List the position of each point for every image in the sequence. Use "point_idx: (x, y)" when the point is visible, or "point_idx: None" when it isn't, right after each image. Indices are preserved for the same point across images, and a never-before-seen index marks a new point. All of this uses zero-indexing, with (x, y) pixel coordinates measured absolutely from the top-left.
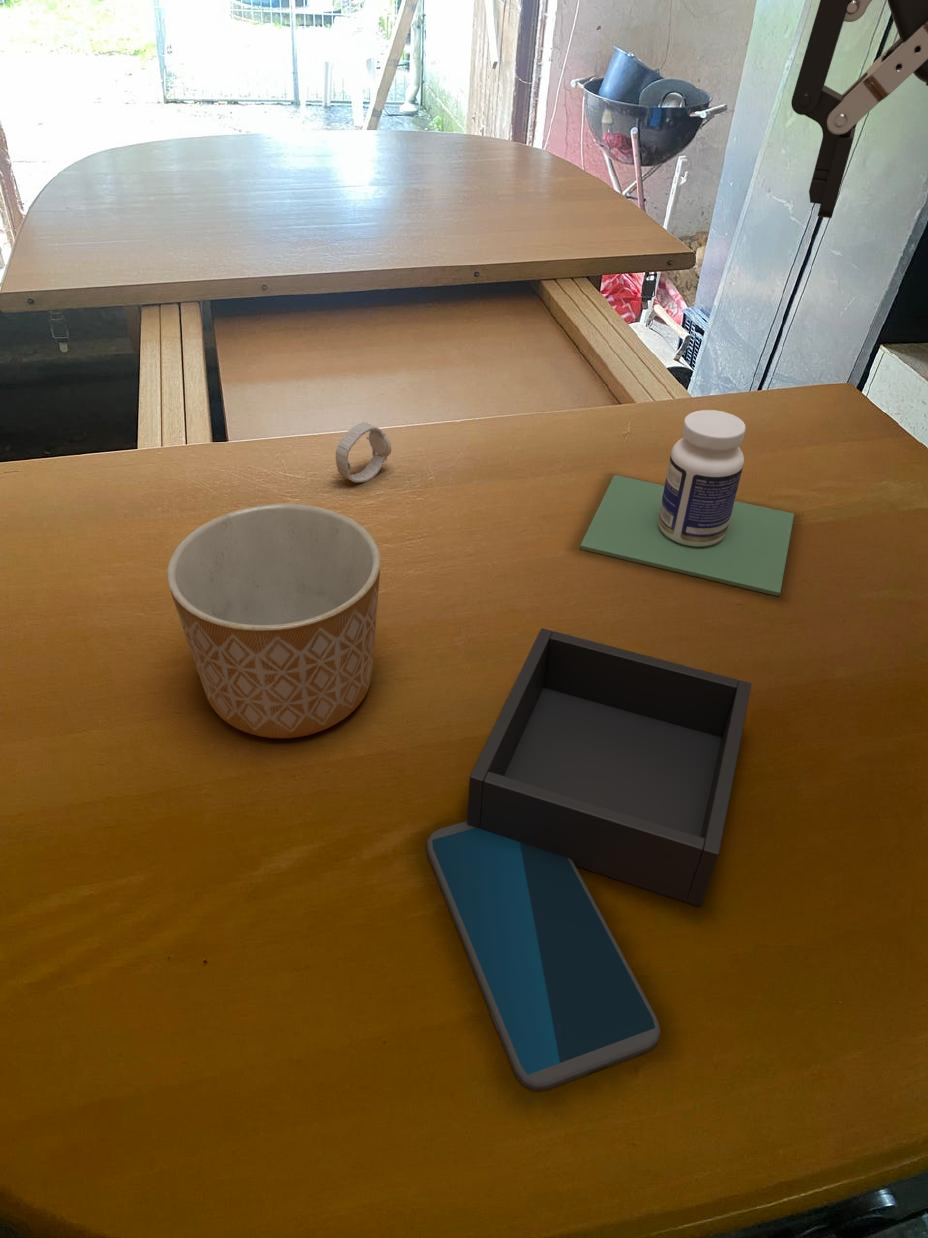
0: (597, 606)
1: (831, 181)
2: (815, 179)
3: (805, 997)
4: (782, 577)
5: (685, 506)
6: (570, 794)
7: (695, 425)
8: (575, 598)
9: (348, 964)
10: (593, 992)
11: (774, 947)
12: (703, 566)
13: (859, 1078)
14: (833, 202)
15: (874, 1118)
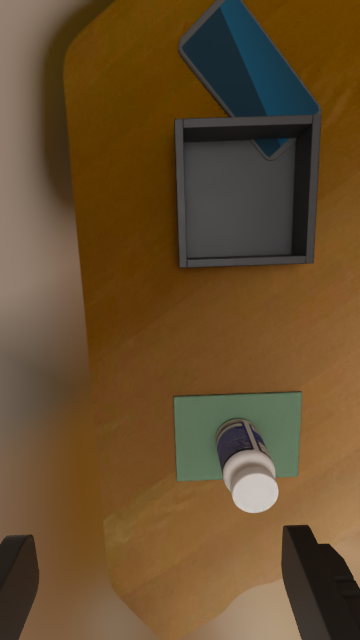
0: (277, 341)
1: (321, 570)
2: (347, 580)
3: (117, 104)
4: (174, 412)
5: (249, 434)
6: (255, 179)
7: (269, 484)
8: (291, 343)
9: (333, 20)
10: (214, 53)
11: (135, 127)
12: (222, 403)
13: (88, 69)
14: (296, 541)
15: (79, 51)
